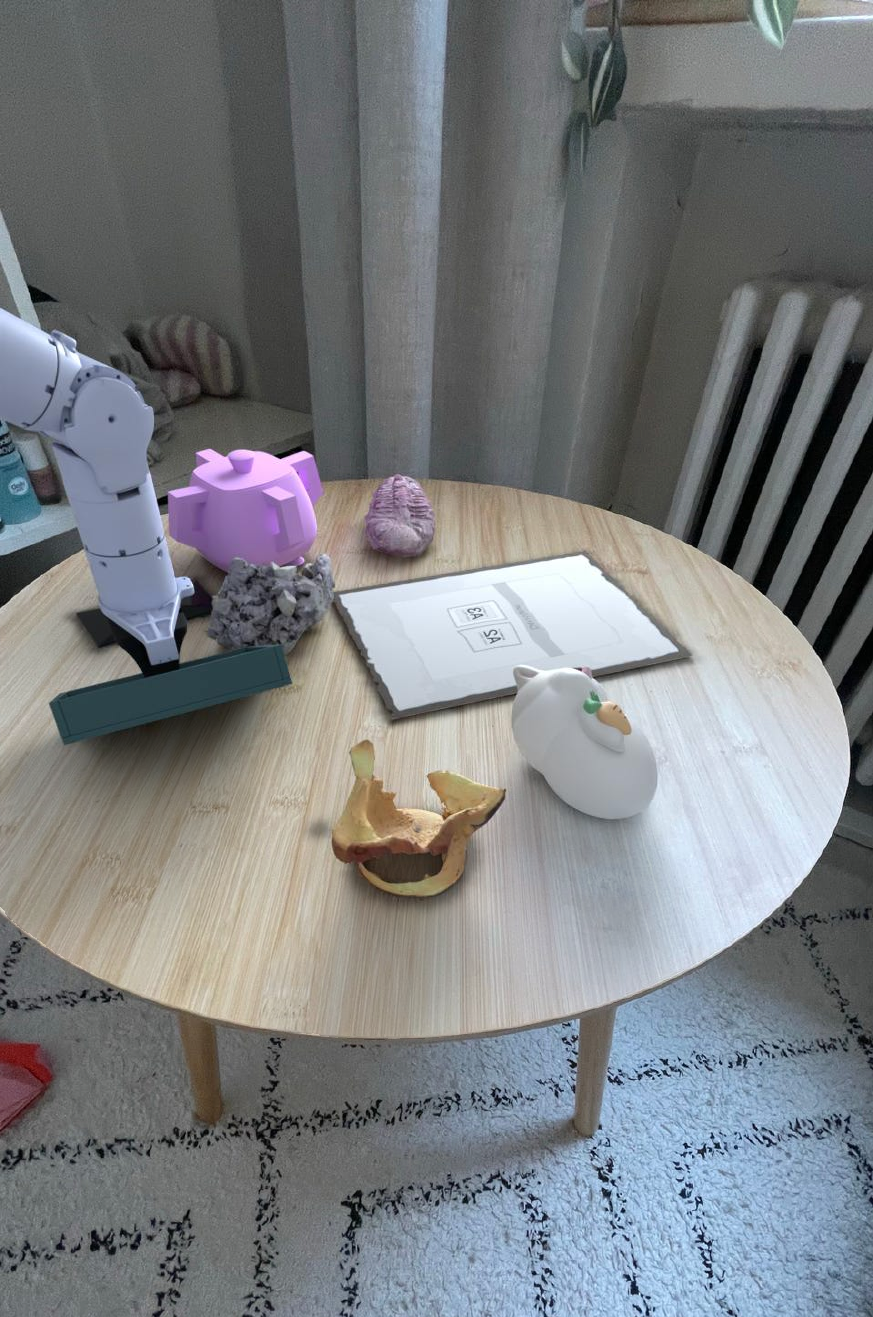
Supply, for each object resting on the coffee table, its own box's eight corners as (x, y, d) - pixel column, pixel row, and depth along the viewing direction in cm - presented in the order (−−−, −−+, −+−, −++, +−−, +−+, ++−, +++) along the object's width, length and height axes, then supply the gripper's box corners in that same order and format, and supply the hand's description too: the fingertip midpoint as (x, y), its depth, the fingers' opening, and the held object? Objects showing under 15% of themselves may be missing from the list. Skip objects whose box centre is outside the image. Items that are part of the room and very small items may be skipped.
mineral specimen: (340, 567, 77) (288, 507, 68) (366, 640, 73) (314, 587, 64) (239, 623, 79) (176, 573, 70) (259, 697, 75) (195, 654, 67)
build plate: (194, 581, 82) (186, 540, 78) (223, 612, 77) (215, 570, 74) (75, 615, 76) (61, 573, 73) (99, 650, 72) (85, 607, 69)
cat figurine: (681, 741, 50) (543, 611, 58) (585, 820, 50) (461, 680, 58) (693, 792, 58) (570, 672, 66) (610, 860, 58) (498, 733, 66)
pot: (230, 621, 76) (208, 507, 68) (144, 557, 85) (115, 449, 77) (370, 562, 85) (365, 456, 77) (279, 510, 94) (266, 409, 86)
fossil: (430, 508, 95) (432, 466, 92) (438, 565, 85) (440, 520, 82) (364, 507, 95) (363, 465, 91) (364, 565, 85) (363, 520, 81)
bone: (357, 936, 50) (349, 852, 44) (310, 833, 56) (298, 747, 50) (519, 877, 53) (531, 792, 48) (457, 786, 60) (462, 702, 54)
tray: (63, 745, 52) (48, 702, 51) (71, 728, 64) (59, 693, 63) (292, 683, 57) (281, 644, 57) (260, 678, 69) (250, 645, 69)
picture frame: (391, 720, 65) (692, 656, 73) (391, 718, 65) (693, 654, 73) (328, 593, 80) (585, 551, 88) (328, 591, 80) (585, 549, 87)
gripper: (204, 572, 53) (236, 724, 62) (158, 490, 62) (191, 633, 71) (97, 594, 50) (147, 749, 60) (65, 506, 60) (113, 652, 69)
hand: (165, 688), depth 65 cm, fingers closed
